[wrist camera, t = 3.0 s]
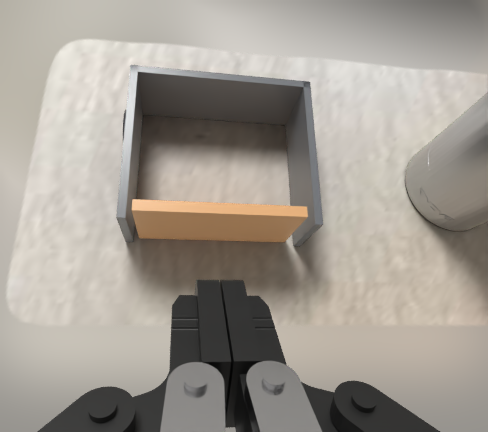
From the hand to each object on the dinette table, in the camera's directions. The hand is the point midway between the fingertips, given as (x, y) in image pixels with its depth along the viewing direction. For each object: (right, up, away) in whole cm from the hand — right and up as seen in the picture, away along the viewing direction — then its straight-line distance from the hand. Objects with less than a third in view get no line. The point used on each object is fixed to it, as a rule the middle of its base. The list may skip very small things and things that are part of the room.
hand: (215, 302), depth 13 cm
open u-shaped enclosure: (-2, +6, +24) cm, 25 cm away
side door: (-2, +1, +21) cm, 22 cm away
